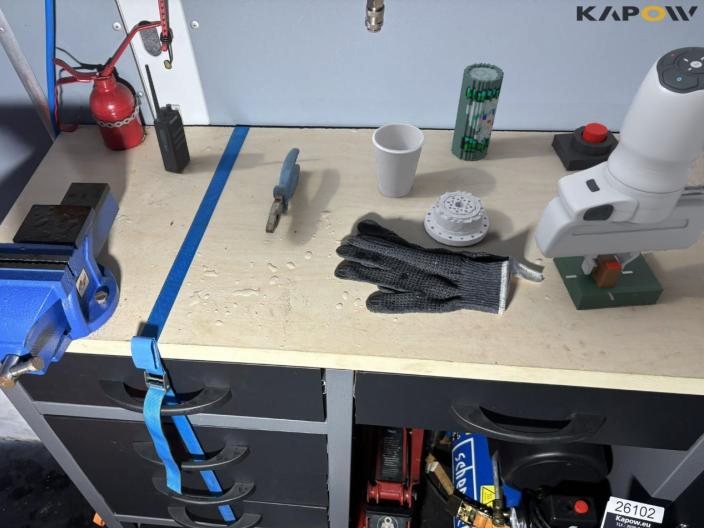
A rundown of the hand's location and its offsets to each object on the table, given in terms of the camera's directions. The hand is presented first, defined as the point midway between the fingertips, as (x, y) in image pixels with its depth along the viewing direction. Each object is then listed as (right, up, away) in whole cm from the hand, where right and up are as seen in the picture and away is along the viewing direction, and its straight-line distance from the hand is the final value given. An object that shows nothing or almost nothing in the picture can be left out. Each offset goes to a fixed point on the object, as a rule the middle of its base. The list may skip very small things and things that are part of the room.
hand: (600, 270), depth 83 cm
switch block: (+9, +21, +24) cm, 34 cm away
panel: (+2, -1, +4) cm, 5 cm away
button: (+9, +24, +21) cm, 33 cm away
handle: (0, -1, +1) cm, 1 cm away
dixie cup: (-25, +15, +21) cm, 36 cm away
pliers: (-44, +11, +19) cm, 49 cm away
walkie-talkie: (-64, +20, +28) cm, 73 cm away
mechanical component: (-17, +7, +13) cm, 23 cm away
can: (-11, +23, +27) cm, 37 cm away
